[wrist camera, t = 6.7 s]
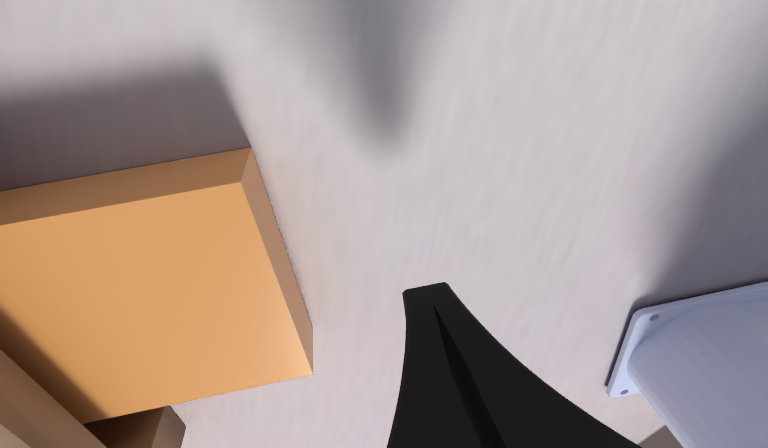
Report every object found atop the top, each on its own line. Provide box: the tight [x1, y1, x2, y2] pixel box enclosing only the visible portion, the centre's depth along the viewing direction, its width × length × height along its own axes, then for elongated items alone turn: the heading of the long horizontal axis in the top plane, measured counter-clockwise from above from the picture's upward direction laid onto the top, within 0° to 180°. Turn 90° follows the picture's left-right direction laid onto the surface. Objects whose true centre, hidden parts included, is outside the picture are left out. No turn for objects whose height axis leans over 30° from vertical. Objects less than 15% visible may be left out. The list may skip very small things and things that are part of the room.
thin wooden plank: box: [0, 147, 313, 424], centre depth 14 cm, size 13×9×2 cm
